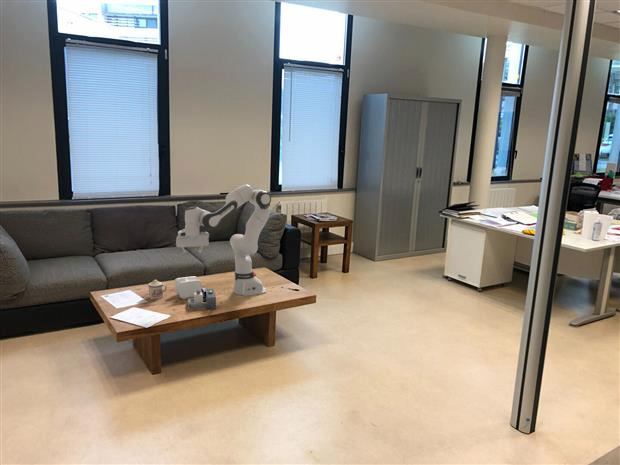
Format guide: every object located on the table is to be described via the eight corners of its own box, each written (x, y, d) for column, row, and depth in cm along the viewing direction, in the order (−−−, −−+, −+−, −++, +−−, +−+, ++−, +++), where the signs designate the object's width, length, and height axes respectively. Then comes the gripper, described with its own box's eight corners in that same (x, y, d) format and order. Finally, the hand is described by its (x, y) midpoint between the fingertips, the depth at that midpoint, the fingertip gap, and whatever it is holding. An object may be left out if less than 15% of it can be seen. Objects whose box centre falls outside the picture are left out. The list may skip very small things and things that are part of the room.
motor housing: (213, 300, 316) (212, 286, 314) (216, 309, 302) (216, 295, 300) (187, 302, 312) (187, 288, 309) (189, 311, 297) (189, 297, 295)
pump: (202, 302, 309) (202, 289, 307) (203, 305, 304) (202, 291, 302) (194, 303, 307) (193, 289, 305) (194, 306, 303) (194, 292, 301)
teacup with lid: (152, 300, 312) (151, 283, 309) (146, 296, 319) (145, 279, 316) (169, 296, 320) (169, 279, 317) (163, 292, 326) (163, 276, 324)
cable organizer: (178, 299, 315) (178, 282, 312) (174, 294, 324) (174, 277, 321) (201, 296, 322) (201, 279, 319) (197, 291, 331) (196, 275, 328)
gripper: (208, 230, 312) (208, 251, 315) (175, 231, 306) (176, 252, 309) (209, 232, 307) (209, 253, 310) (176, 233, 300) (176, 255, 303)
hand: (192, 253), depth 309 cm, fingers open, 8 cm apart
